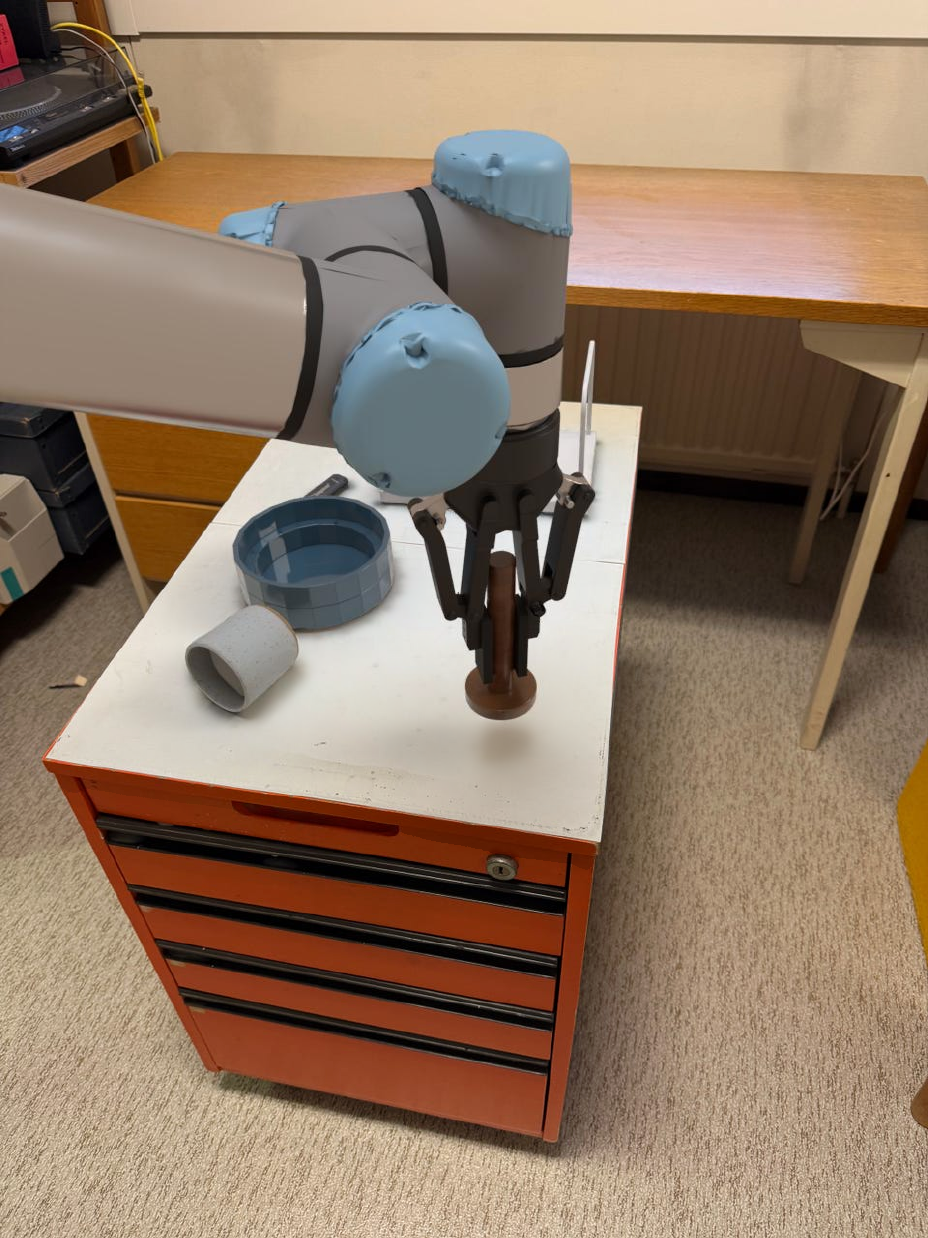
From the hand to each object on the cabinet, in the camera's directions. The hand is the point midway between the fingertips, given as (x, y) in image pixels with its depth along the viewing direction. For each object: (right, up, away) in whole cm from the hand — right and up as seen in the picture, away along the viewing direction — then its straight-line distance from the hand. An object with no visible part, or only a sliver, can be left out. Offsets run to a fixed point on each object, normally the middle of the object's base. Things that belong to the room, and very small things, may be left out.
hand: (500, 668), depth 72 cm
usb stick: (-21, +18, +36) cm, 45 cm away
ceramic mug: (-25, -2, +13) cm, 28 cm away
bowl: (-19, +8, +24) cm, 31 cm away
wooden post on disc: (0, -2, +2) cm, 3 cm away
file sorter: (+1, +22, +39) cm, 45 cm away
